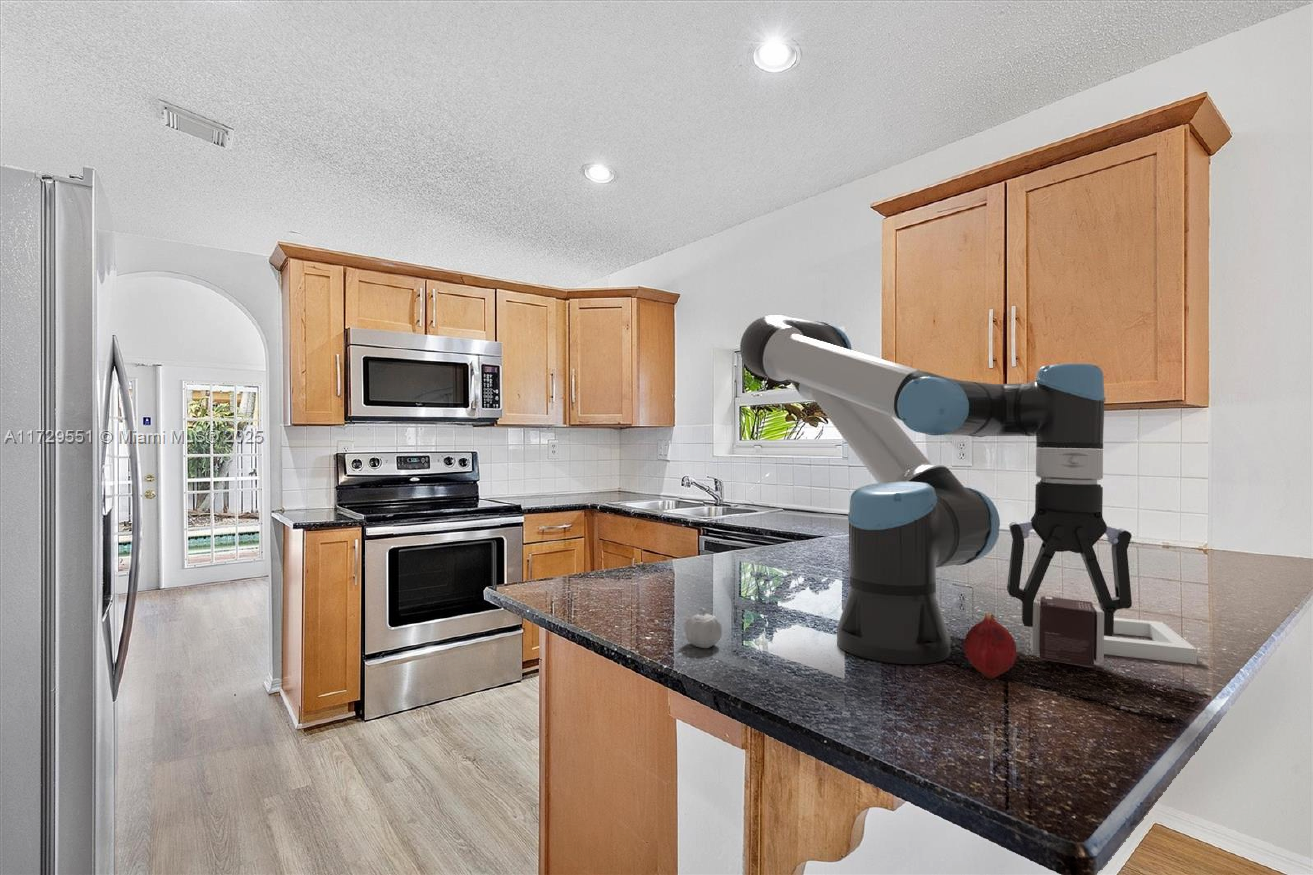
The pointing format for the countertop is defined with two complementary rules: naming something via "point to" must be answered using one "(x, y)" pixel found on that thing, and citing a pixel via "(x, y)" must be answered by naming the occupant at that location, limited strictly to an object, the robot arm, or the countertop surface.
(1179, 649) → the hole plate
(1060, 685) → the countertop surface
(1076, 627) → the box
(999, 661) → the onion
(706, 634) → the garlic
